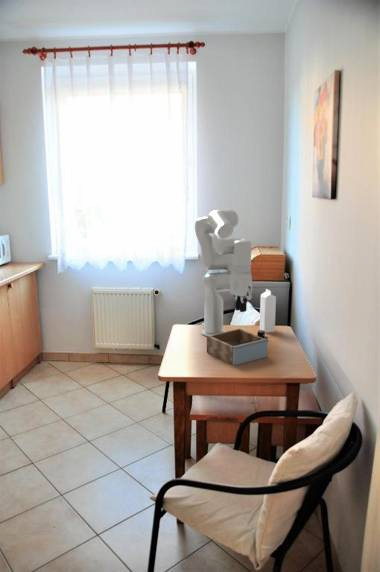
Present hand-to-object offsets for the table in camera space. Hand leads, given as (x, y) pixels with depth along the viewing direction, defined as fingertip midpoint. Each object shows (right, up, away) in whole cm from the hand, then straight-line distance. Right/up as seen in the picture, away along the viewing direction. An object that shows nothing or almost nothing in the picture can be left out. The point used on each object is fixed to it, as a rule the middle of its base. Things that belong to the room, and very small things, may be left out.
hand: (240, 310), depth 201 cm
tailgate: (+4, -22, -2) cm, 22 cm away
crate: (-2, -20, +7) cm, 21 cm away
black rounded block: (+13, -16, +28) cm, 35 cm away
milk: (+18, -13, +41) cm, 47 cm away
